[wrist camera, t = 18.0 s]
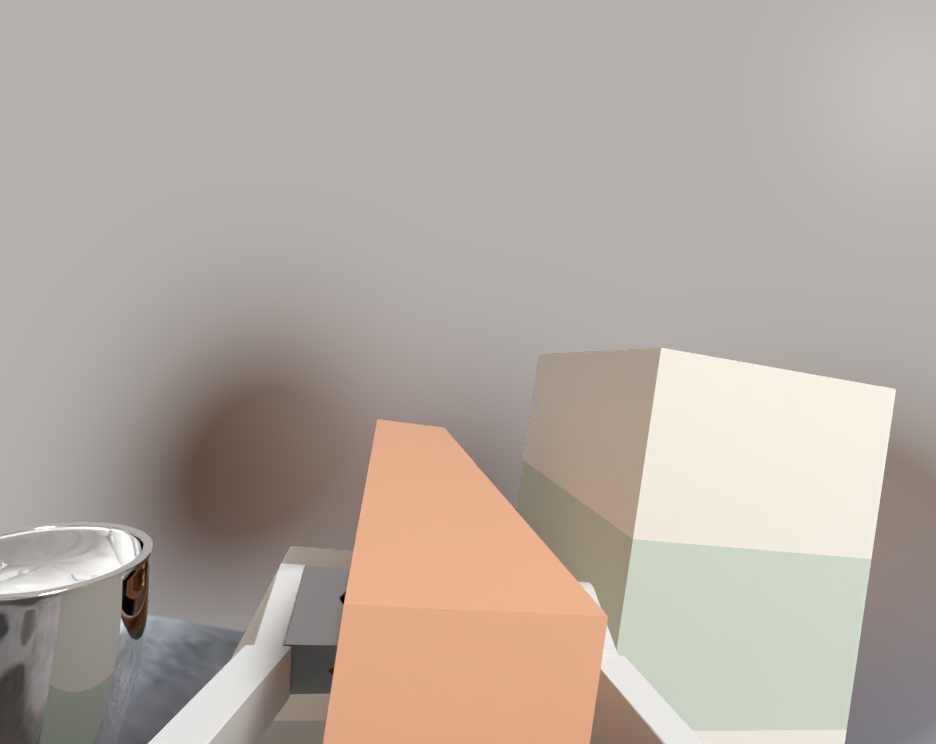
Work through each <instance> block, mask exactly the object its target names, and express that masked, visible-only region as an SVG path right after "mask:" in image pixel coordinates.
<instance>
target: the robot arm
mask: <svg viewBox="0 0 936 744" xmlns="http://www.w3.org/2000/svg"><path fill="white" fill-rule="evenodd" d="M349 573H350V568H339V567H325V566H311V565H301V564H284V563H281V565H280V567H279V568H278V570H277V572H276V575H275V579H274V582H273V585H272V588H271V591H270V594H269V597H268V600H267V603H266V606H265V609H264V612H263V615H262V619H261V622H260V625H259V628H258V631H257V634H256V637H255V640H254V643H253V645H244V646H243V647H242V648H241V649H240V650H239V651H238V652H237V653H236V654H235V655H234V657H233V658H232V659H231V660H230V661H229V662H228V663H227V664H226V665H225V666H224V667H223V668H222V669H221V670H220V671H219V672H218V673H217V674H216V675H215V676H214V677H213V678H212V679H211V680H210V681H209V682H208V683H207V684H206V685H205V686H204V687H203V688H202V689H201V690H200V691H199V692H198V693H197V694H196V695H195V696H194V697H193V698H192V699H191V700H190V701H189V702H188V703H187V704H186V705H185V706H184V707H183V708H182V709H181V710H180V711H179V712H178V713H177V714H176V715H175V716H174V717H173V718H172V719H171V720H170V721H169V722H168V723H167V724H166V725H165V726H164V727H163V729H162V730H161V731H160V732H159V733H158V734H157V735H156V736H155V737H154V738H153V739H152V740H151V741H150V742H149V743H148V744H256V743H257V741H258V740H259V739H260V737H261V736H262V735H263V733H264V732H265V731H266V729H267V728H268V726H269V725H270V724H271V722H272V721H273V720H274V718H275V717H276V716H277V714H278V713H279V711H280V710H281V709H282V707H283V706H284V705H285V703H286V702H287V701H288V699H289V698H290V694H330V693H331V686H332V680H333V673H334V666H335V660H336V653H337V646H338V640H339V633H340V626H341V620H342V613H343V607H344V601H345V595H346V590H347V584H348V579H349ZM579 583H580V585H581V586H582V587H583V588H584V589H585V590H586V591H587V593H588V594H589V595H590V596H591V597H592V598H593V599H594V601H595V602H596V603H597V604H598V605H599V606H600V604H599V601H598V598H597V596H596V593H595V590H594V588H593V586H592V585H591V584H590V583H588V582H579ZM600 608H601V607H600ZM590 744H704V743H703V742H702V741H701V740H700V739H699V737H698V736H697V735H696V734H695V733H694V732H693V731H692V730H691V729H690V728H689V726H688V725H687V724H686V723H685V722H684V721H683V720H682V719H681V718H680V717H679V715H678V714H677V713H676V712H675V711H674V710H673V709H672V708H671V707H670V706H669V704H668V703H667V702H666V701H665V700H664V699H663V698H662V697H661V696H660V695H659V693H658V692H657V691H656V690H655V689H654V688H653V687H652V686H651V685H650V684H649V682H648V681H647V680H646V679H645V678H644V677H643V676H642V675H641V674H640V673H639V672H638V670H637V669H636V668H635V667H634V666H633V665H632V664H631V663H630V662H629V661H628V659H627V658H626V657H625V656H622V655H618V654H617V651H616V648H615V645H614V643H613V640H612V637H611V634H610V632H609V629H608V626H607V628H606V635H605V642H604V649H603V656H602V663H601V669H600V676H599V683H598V690H597V697H596V704H595V711H594V717H593V724H592V731H591V738H590Z"/></svg>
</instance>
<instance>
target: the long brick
mask: <svg viewBox="0 0 936 744" xmlns="http://www.w3.org/2000/svg"><path fill="white" fill-rule="evenodd" d="M607 621H608V616H607V614H606V613H605V612H604V611H603V610H602V609H601V608H600V606H599V605H598V604H597V603H596V602H595V601H594V599H593V598H592V597H591V596H590V595H589V594H588V593H587V591H586V590H585V589H584V588H583V587H582V586H581V585H580V583H579V582H578V581H577V580H576V579H575V578H574V577H573V575H572V574H571V573H570V572H569V571H568V570H567V568H566V567H565V566H564V565H563V564H562V563H561V562H560V560H559V559H558V558H557V557H556V556H555V555H554V554H553V552H552V551H551V550H550V549H549V548H548V547H547V546H546V544H545V543H544V542H543V541H542V540H541V539H540V537H539V536H538V535H537V534H536V533H535V532H534V531H533V529H532V528H531V527H530V526H529V525H528V524H527V523H526V521H525V520H524V519H523V518H522V517H521V516H520V515H519V513H518V512H517V511H516V510H515V509H514V508H513V507H512V505H511V504H510V503H509V502H508V501H507V500H506V498H505V497H504V496H503V495H502V494H501V493H500V492H499V490H498V489H497V488H496V487H495V486H494V485H493V484H492V482H491V481H490V480H489V479H488V478H487V477H486V476H485V474H484V473H483V472H482V471H481V470H480V469H479V467H478V466H477V465H476V464H475V463H474V462H473V461H472V459H470V457H469V456H468V455H467V454H466V452H465V451H464V450H463V449H462V448H461V447H460V446H459V444H458V443H457V442H456V441H455V440H454V439H453V438H452V436H450V434H449V433H448V432H447V431H446V430H445V428H443V427H435V426H427V425H419V424H410V423H403V422H395V421H387V420H379V419H378V420H377V425H376V431H375V436H374V442H373V447H372V452H371V458H370V464H369V469H368V475H367V480H366V485H365V491H364V497H363V502H362V508H361V513H360V518H359V524H358V530H357V535H356V541H355V546H354V551H353V557H352V562H351V568H350V573H349V579H348V584H347V590H346V595H345V601H344V607H343V613H342V620H341V626H340V633H339V640H338V646H337V653H336V660H335V666H334V673H333V680H332V686H331V693H330V700H329V706H328V713H327V720H326V726H325V733H324V740H323V744H590V738H591V731H592V724H593V717H594V711H595V704H596V697H597V690H598V683H599V676H600V669H601V663H602V656H603V649H604V642H605V635H606V628H607Z"/></svg>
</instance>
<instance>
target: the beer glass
mask: <svg viewBox="0 0 936 744" xmlns="http://www.w3.org/2000/svg"><path fill="white" fill-rule="evenodd" d="M152 548H153V543H152V540H151V538H150V537H149V536H148V535H147V534H146V533H144V532H142V531H140V530H138V529H135V528H132V527H129V526H124V525H119V524H112V523H101V522H65V523H51V524H41V525H34V526H27V527H20V528H15V529H9V530H4V531H0V744H116V741H117V739H118V736H119V733H120V730H121V727H122V724H123V721H124V718H125V715H126V713H127V710H128V706H129V703H130V700H131V696H132V693H133V689H134V686H135V682H136V679H137V676H138V671H139V666H140V661H141V656H142V650H143V645H144V640H145V631H146V622H147V614H148V601H149V600H148V599H149V584H150V582H149V581H150V562H151V551H152Z"/></svg>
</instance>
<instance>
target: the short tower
mask: <svg viewBox="0 0 936 744" xmlns="http://www.w3.org/2000/svg"><path fill="white" fill-rule="evenodd" d="M353 551H354V550H340V549H326V548H325V549H324V548H311V547H296V546H290V548H289V550H288V552H287V554H286V555H285V557H284V559H283V561H282V563H284V564H301V565H311V566H325V567H339V568H351V562H352V557H353ZM275 575H276V574H275ZM274 579H275V576H274V578H273V580H272V582H271V584H270V586H269V588H268V589H267V591H266V593H265V595H264V597H263V599H262V601H261V603H260V605H259V607H258V608H257V610H256V612H255V614H254V616H253V618H252V620H251V622H250V624H249V626H248V627H247V629H246V631H245V633H244V635H243V637H242V639H241V641H240V643H239V644H238V646H237V648H236V650H235V652H234V654H233V656H232V658H233V657H234V655H235V654H236V653H237V652H238V651H239V650H240V649H241V648H242V647H243V646H244V645H253V643H254V640H255V637H256V634H257V631H258V628H259V625H260V622H261V619H262V615H263V612H264V609H265V606H266V603H267V600H268V597H269V594H270V591H271V588H272V585H273V582H274ZM232 658H231V659H232ZM329 700H330V694H290V698H289V699H288V701H287V702H286V703H285V705H284V706H283V707H282V709H281V710H280V711H279V713H278V714H277V716H276V717H275V718H274V720H273V721H272V722H271V724H270V725H269V726H268V728H267V729H266V731H265V732H264V733H263V735H262V736H261V737H260V739H259V740H258V741H257V743H256V744H323V740H324V733H325V726H326V720H327V713H328V706H329Z"/></svg>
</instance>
